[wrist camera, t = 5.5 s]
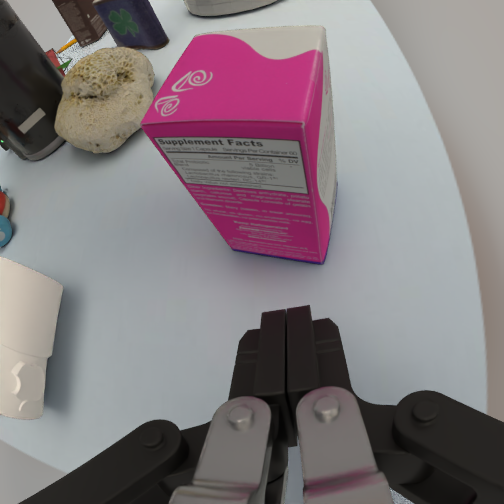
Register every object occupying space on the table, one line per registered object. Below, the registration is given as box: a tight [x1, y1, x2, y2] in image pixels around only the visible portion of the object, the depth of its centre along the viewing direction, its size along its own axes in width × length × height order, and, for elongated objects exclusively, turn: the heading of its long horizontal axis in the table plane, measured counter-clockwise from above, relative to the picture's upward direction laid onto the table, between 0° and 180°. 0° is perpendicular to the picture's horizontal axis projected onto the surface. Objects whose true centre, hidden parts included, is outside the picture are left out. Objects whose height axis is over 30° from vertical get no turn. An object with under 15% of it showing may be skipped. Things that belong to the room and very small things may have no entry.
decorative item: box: [54, 47, 155, 153], centre depth 25 cm, size 12×9×10 cm
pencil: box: [57, 39, 77, 53], centre depth 42 cm, size 1×13×1 cm
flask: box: [92, 0, 169, 50], centre depth 29 cm, size 9×3×11 cm, turn 61°
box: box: [52, 0, 107, 47], centre depth 35 cm, size 6×4×12 cm
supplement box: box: [140, 26, 338, 265], centre depth 15 cm, size 6×6×12 cm
